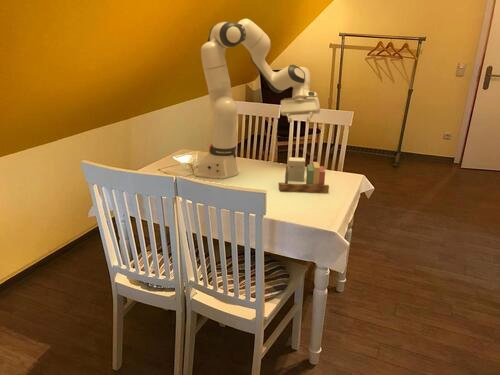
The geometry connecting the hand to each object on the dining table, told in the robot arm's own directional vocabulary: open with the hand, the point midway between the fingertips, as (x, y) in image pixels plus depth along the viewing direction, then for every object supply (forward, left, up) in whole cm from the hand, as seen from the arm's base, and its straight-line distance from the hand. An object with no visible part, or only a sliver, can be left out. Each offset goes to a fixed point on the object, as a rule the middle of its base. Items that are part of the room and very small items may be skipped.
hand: (299, 121), depth 211 cm
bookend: (-7, -24, -26) cm, 36 cm away
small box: (-1, -13, -26) cm, 29 cm away
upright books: (+7, -24, -26) cm, 36 cm away
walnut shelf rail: (+2, -29, -26) cm, 39 cm away
